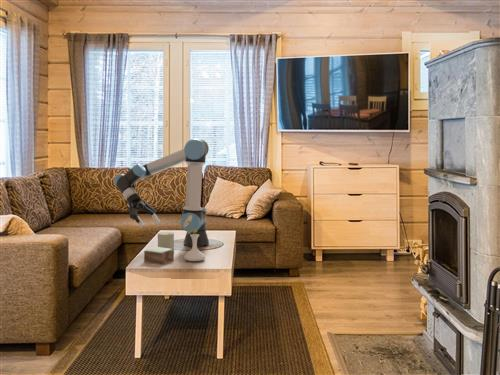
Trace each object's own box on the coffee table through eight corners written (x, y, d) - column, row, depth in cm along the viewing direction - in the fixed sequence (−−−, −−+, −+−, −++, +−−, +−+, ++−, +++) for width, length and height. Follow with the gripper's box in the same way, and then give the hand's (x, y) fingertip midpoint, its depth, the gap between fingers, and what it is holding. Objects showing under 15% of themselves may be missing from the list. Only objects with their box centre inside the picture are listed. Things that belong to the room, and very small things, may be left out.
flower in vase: (194, 256, 274) (194, 211, 272) (209, 260, 267) (210, 214, 265) (177, 261, 264) (177, 214, 262) (192, 264, 257) (192, 216, 255)
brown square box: (156, 258, 271) (156, 246, 271) (173, 260, 267) (173, 248, 266) (144, 262, 261) (144, 250, 261) (161, 265, 257) (161, 252, 256)
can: (166, 255, 276) (166, 234, 275) (154, 253, 281) (154, 232, 280) (177, 253, 284) (177, 232, 283) (165, 250, 289) (165, 230, 287)
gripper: (143, 199, 305) (162, 226, 299) (112, 203, 283) (132, 232, 277) (149, 191, 302) (168, 218, 295) (119, 194, 280) (139, 223, 274)
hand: (151, 224), depth 286 cm, fingers open, 13 cm apart
